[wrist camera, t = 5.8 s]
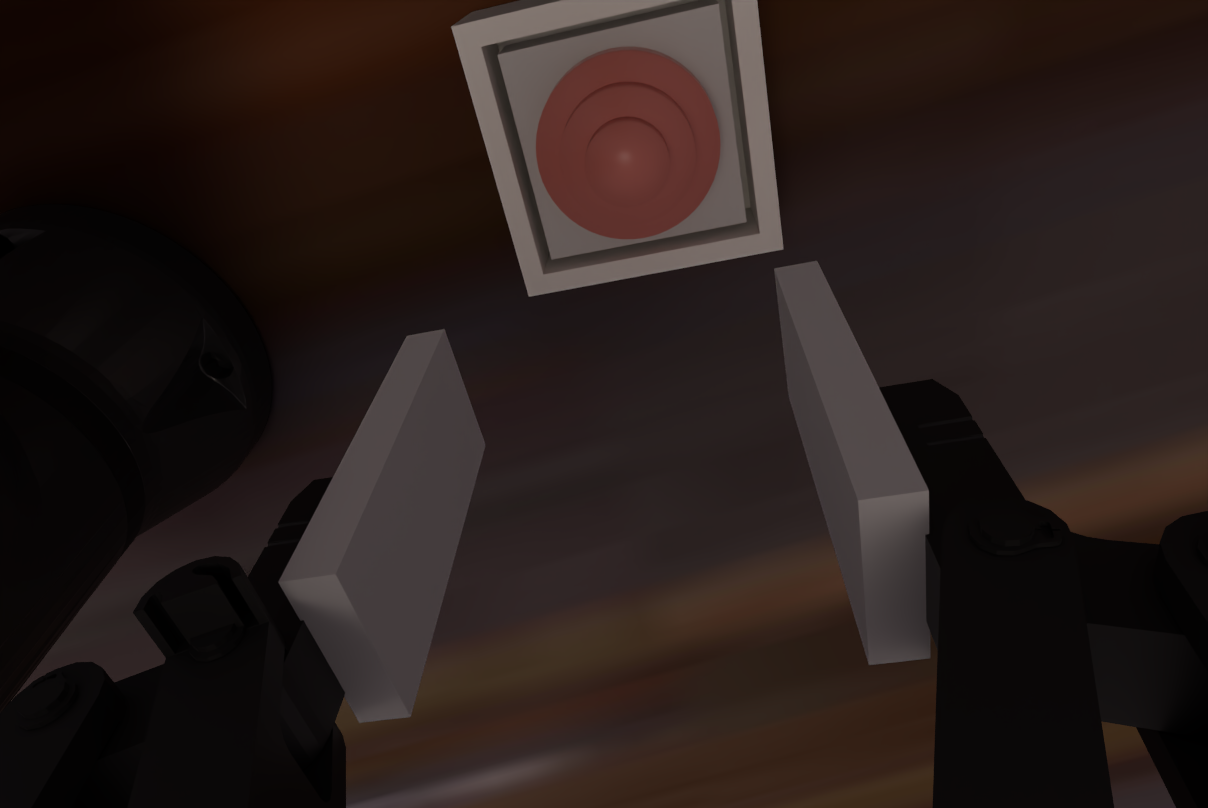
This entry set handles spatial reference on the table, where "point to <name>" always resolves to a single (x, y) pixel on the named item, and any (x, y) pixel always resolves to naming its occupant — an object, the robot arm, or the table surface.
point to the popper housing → (541, 11)
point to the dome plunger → (628, 128)
